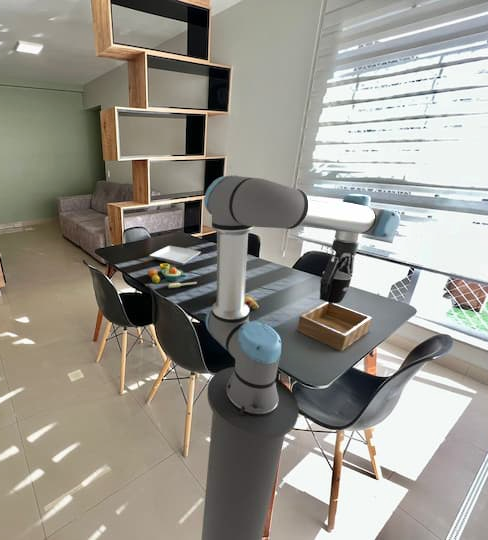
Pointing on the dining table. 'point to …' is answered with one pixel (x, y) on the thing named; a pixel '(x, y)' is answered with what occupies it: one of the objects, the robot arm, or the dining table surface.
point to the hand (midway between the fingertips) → (332, 295)
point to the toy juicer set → (169, 275)
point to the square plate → (175, 255)
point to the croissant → (250, 302)
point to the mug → (338, 287)
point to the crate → (334, 325)
